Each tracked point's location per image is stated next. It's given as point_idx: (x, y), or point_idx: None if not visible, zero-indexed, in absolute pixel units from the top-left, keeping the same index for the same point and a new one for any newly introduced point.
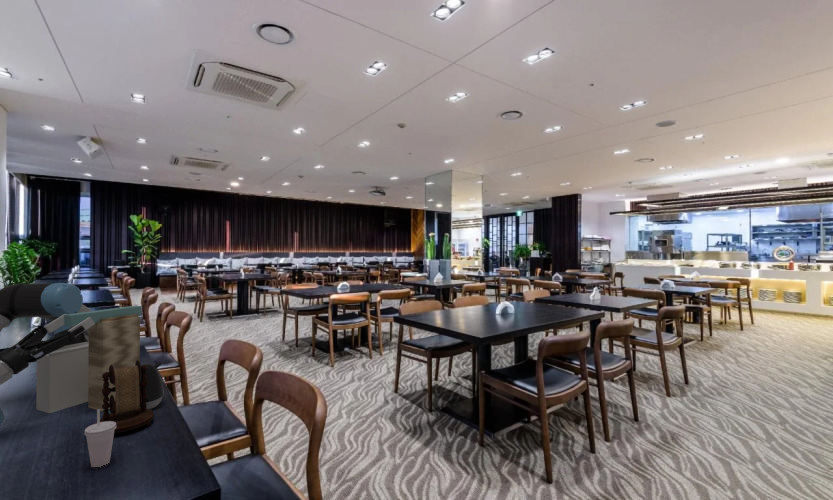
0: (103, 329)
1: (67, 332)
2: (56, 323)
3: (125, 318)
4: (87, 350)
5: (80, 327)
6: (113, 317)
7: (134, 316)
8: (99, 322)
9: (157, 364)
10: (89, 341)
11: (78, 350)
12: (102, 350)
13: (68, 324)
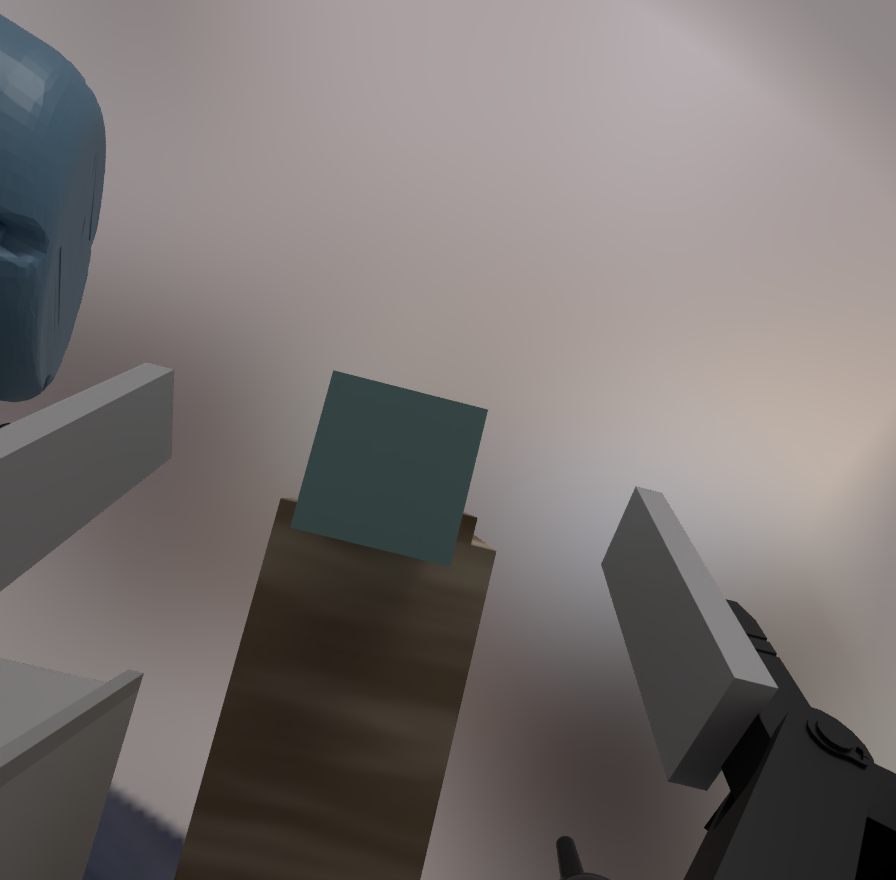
0: (481, 613)
1: (822, 732)
2: (78, 463)
3: None
4: (62, 757)
5: (753, 625)
6: None
7: None
8: None
9: (578, 858)
10: (240, 703)
11: (15, 776)
12: (431, 820)
13: (410, 529)
